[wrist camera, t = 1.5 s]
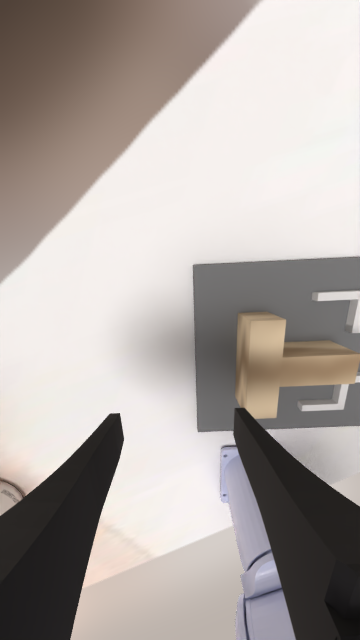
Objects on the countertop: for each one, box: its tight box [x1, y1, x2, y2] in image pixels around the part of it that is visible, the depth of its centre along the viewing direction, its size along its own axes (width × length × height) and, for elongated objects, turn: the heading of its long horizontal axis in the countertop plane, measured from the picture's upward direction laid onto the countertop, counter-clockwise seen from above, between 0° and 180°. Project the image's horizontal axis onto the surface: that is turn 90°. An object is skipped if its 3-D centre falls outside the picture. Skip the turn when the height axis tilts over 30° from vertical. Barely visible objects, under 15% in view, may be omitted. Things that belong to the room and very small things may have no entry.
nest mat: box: [193, 257, 360, 432], centre depth 20 cm, size 20×24×1 cm
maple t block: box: [235, 312, 360, 419], centre depth 18 cm, size 10×10×4 cm
